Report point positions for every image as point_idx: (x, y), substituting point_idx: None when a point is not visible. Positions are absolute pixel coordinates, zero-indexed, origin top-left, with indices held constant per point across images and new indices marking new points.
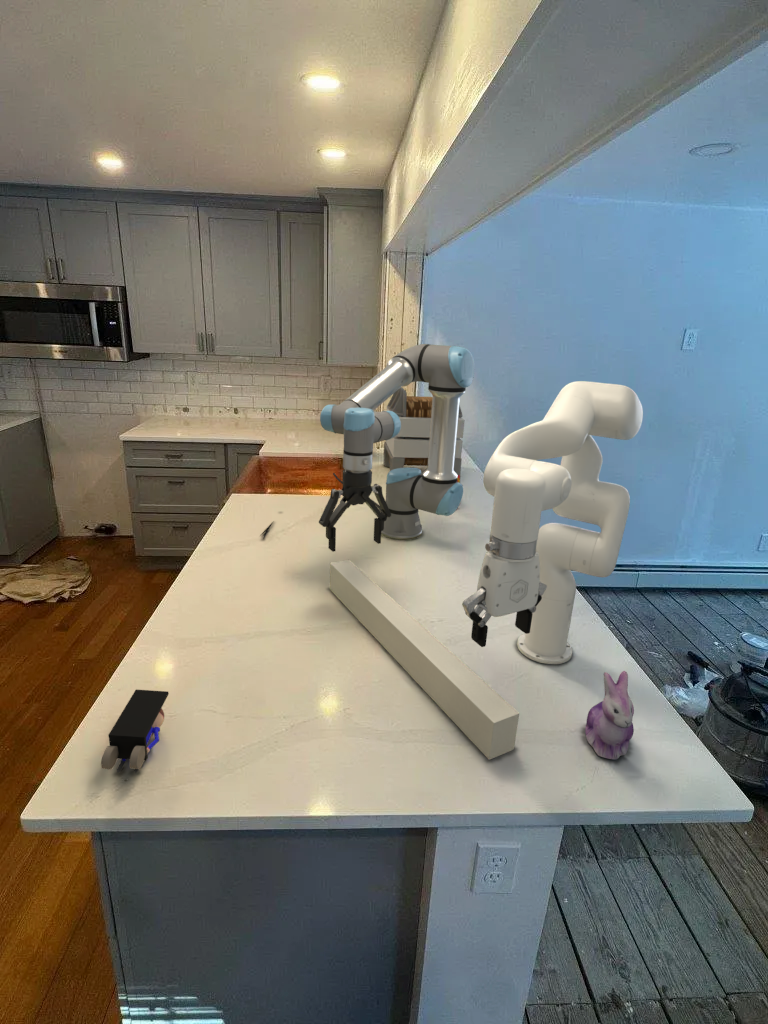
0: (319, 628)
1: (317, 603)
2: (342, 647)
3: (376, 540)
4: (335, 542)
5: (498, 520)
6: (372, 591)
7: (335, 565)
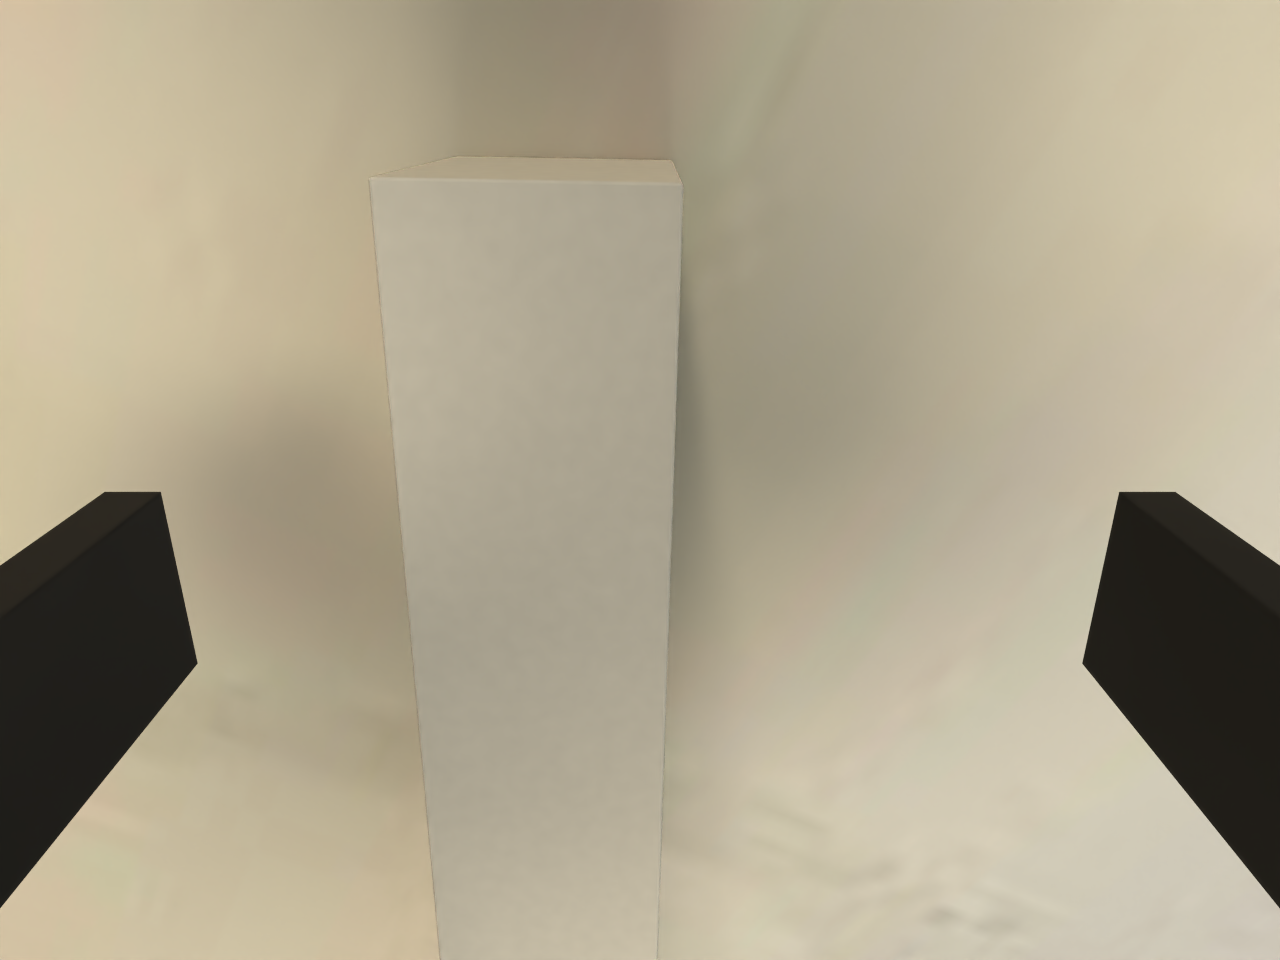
0: (180, 705)
1: (256, 373)
2: (269, 921)
3: (1115, 623)
4: (102, 777)
5: None
6: (553, 955)
7: (415, 294)
